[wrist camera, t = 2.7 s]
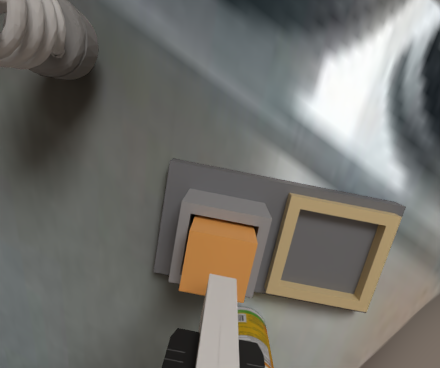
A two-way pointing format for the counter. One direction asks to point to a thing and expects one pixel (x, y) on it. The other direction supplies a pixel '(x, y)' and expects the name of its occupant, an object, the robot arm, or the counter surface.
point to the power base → (284, 232)
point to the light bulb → (47, 38)
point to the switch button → (218, 254)
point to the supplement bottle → (254, 332)
